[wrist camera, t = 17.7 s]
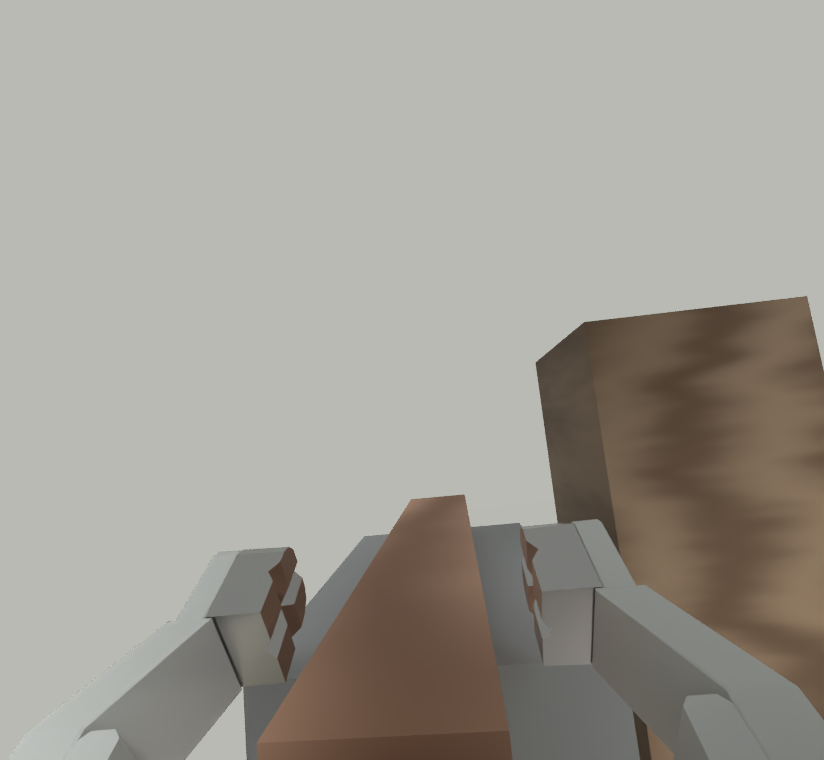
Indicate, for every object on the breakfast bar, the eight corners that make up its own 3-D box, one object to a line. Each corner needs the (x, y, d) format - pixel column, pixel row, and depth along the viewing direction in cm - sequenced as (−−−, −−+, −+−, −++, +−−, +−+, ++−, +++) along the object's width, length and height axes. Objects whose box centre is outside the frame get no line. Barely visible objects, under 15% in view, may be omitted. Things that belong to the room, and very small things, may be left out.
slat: (468, 531, 25) (464, 494, 25) (532, 931, 5) (509, 731, 5) (414, 536, 25) (411, 499, 25) (266, 935, 5) (256, 743, 5)
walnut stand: (746, 738, 29) (675, 347, 32) (953, 951, 17) (807, 296, 20) (588, 746, 30) (535, 362, 33) (682, 955, 18) (584, 322, 21)
